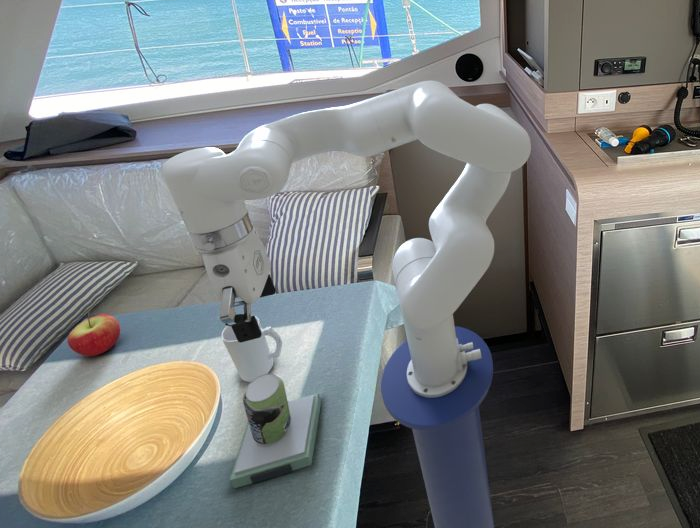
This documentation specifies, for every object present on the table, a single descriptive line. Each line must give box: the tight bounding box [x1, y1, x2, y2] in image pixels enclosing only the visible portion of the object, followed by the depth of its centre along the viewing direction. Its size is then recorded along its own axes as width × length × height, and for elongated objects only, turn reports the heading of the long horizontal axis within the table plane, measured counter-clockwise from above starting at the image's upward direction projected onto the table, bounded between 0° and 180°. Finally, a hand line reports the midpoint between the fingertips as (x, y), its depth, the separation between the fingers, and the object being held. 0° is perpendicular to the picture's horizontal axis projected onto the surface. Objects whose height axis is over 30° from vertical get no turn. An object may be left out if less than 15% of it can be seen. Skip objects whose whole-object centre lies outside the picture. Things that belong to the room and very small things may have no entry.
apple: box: [67, 310, 121, 357], centre depth 95 cm, size 8×8×10 cm
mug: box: [220, 314, 283, 383], centre depth 87 cm, size 10×7×12 cm, turn 98°
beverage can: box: [242, 373, 291, 444], centre depth 72 cm, size 6×7×12 cm
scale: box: [229, 393, 322, 489], centre depth 75 cm, size 12×12×3 cm
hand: (259, 315), depth 68 cm, fingers open, 9 cm apart
